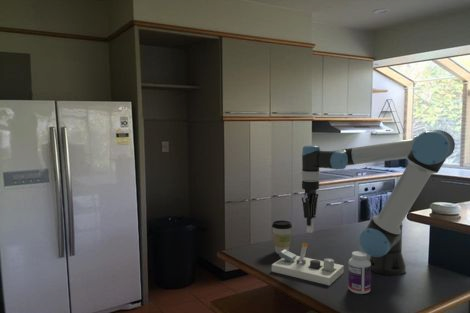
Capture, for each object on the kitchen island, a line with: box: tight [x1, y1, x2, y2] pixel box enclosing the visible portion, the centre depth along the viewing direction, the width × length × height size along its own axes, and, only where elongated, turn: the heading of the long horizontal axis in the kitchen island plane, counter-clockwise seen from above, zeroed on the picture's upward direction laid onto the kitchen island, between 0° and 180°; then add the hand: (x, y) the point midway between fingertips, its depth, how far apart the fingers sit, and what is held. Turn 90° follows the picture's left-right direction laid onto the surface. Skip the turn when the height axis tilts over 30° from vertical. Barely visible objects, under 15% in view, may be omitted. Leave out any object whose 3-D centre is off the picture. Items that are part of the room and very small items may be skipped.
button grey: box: [323, 258, 335, 272], centre depth 157 cm, size 4×4×4 cm
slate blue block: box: [278, 249, 297, 262], centre depth 168 cm, size 6×4×2 cm
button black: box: [310, 259, 321, 270], centre depth 161 cm, size 4×4×4 cm
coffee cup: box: [271, 219, 293, 255], centre depth 188 cm, size 10×10×15 cm
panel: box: [271, 255, 345, 286], centre depth 163 cm, size 26×16×5 cm, turn 55°
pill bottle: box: [347, 250, 372, 295], centre depth 144 cm, size 8×8×14 cm
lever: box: [299, 242, 309, 262], centre depth 166 cm, size 3×3×9 cm
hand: (309, 232), depth 172 cm, fingers closed
